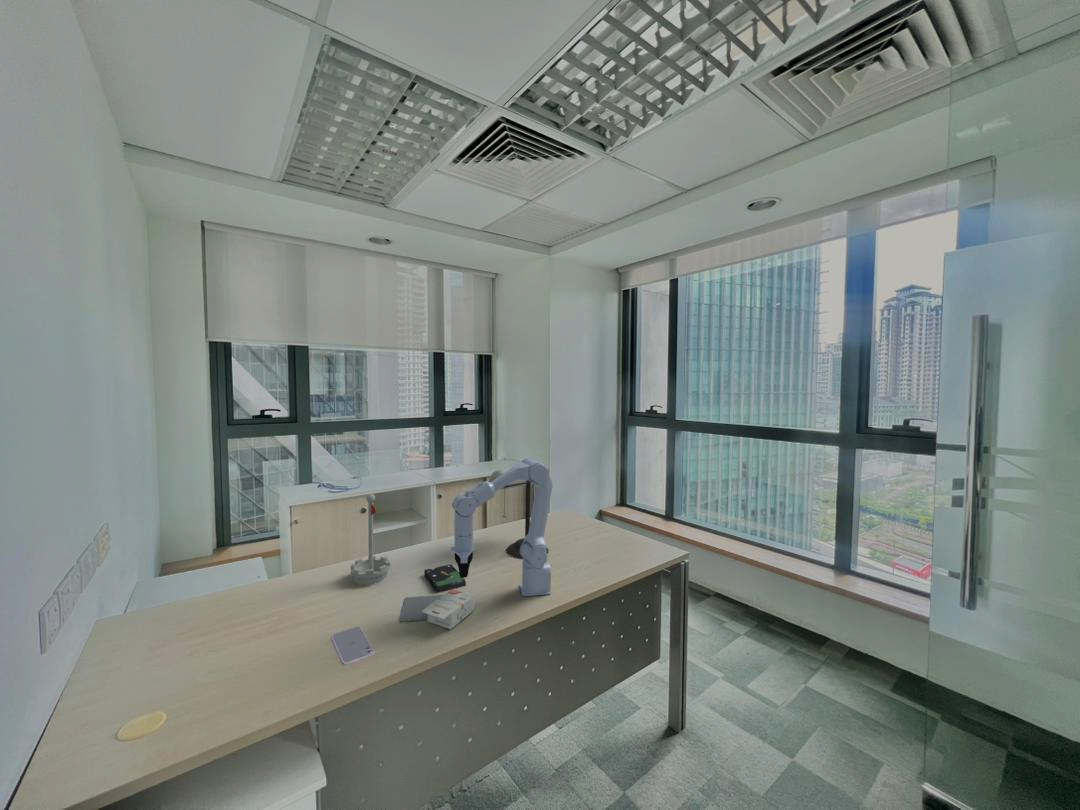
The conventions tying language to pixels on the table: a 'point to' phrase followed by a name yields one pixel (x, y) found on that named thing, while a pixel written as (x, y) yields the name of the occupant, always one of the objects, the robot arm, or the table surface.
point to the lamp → (515, 547)
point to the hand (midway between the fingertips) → (463, 576)
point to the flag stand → (370, 557)
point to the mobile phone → (352, 645)
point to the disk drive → (444, 578)
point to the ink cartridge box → (450, 608)
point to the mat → (416, 608)
